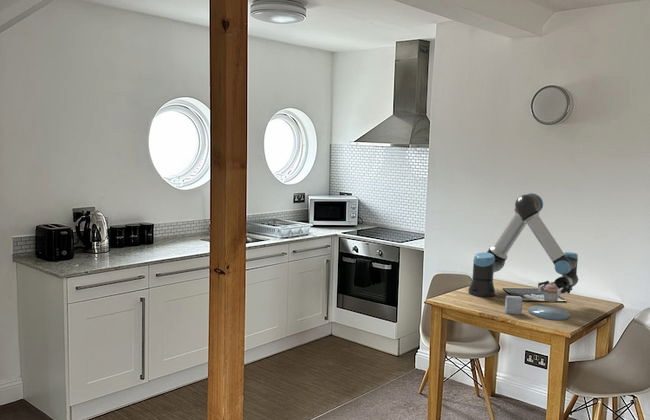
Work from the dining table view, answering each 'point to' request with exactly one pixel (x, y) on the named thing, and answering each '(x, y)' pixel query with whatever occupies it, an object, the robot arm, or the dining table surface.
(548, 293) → the cupcake
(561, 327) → the dining table surface
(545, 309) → the dish
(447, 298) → the dining table surface
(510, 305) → the medicine box
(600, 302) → the dining table surface
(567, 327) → the dining table surface
